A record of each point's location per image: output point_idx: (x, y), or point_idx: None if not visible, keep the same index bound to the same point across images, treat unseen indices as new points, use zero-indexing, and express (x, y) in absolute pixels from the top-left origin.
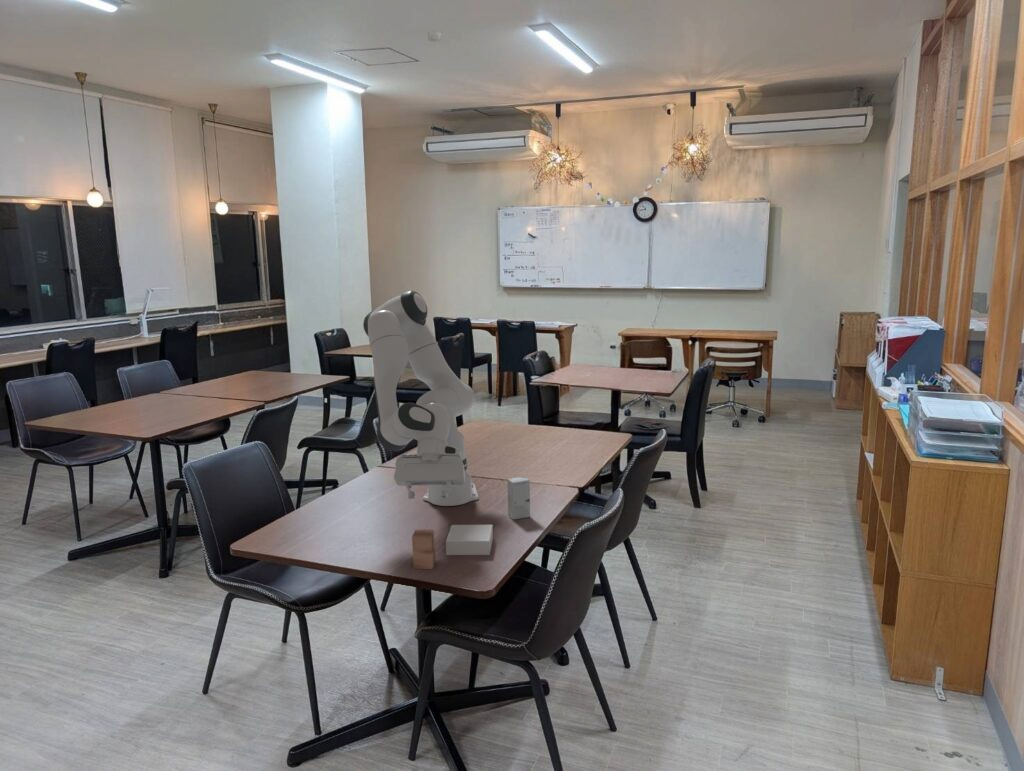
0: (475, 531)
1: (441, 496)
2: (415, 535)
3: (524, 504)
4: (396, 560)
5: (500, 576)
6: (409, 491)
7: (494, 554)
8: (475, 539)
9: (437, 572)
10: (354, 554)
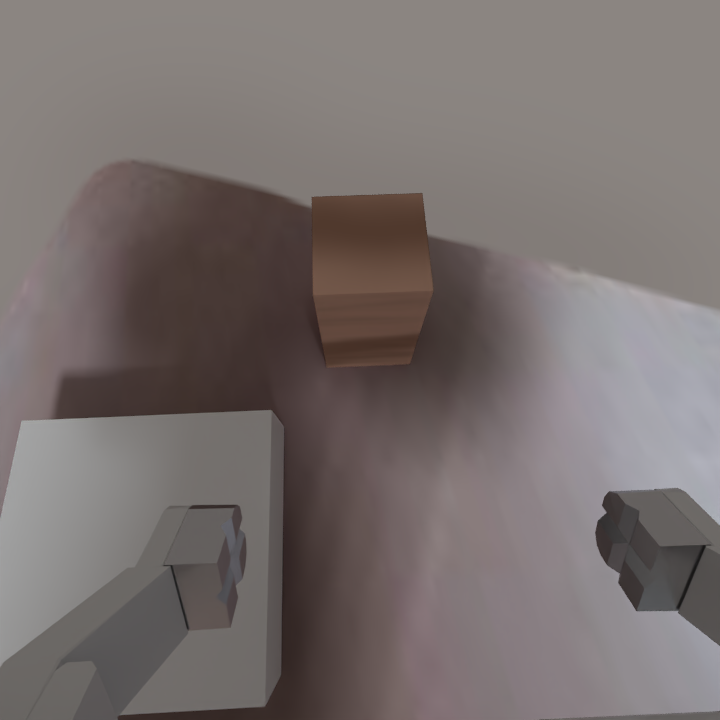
0: (93, 576)
1: (238, 507)
2: (407, 210)
3: None
4: (505, 365)
5: (48, 243)
6: (716, 534)
7: None
8: (99, 442)
9: (299, 266)
10: None
